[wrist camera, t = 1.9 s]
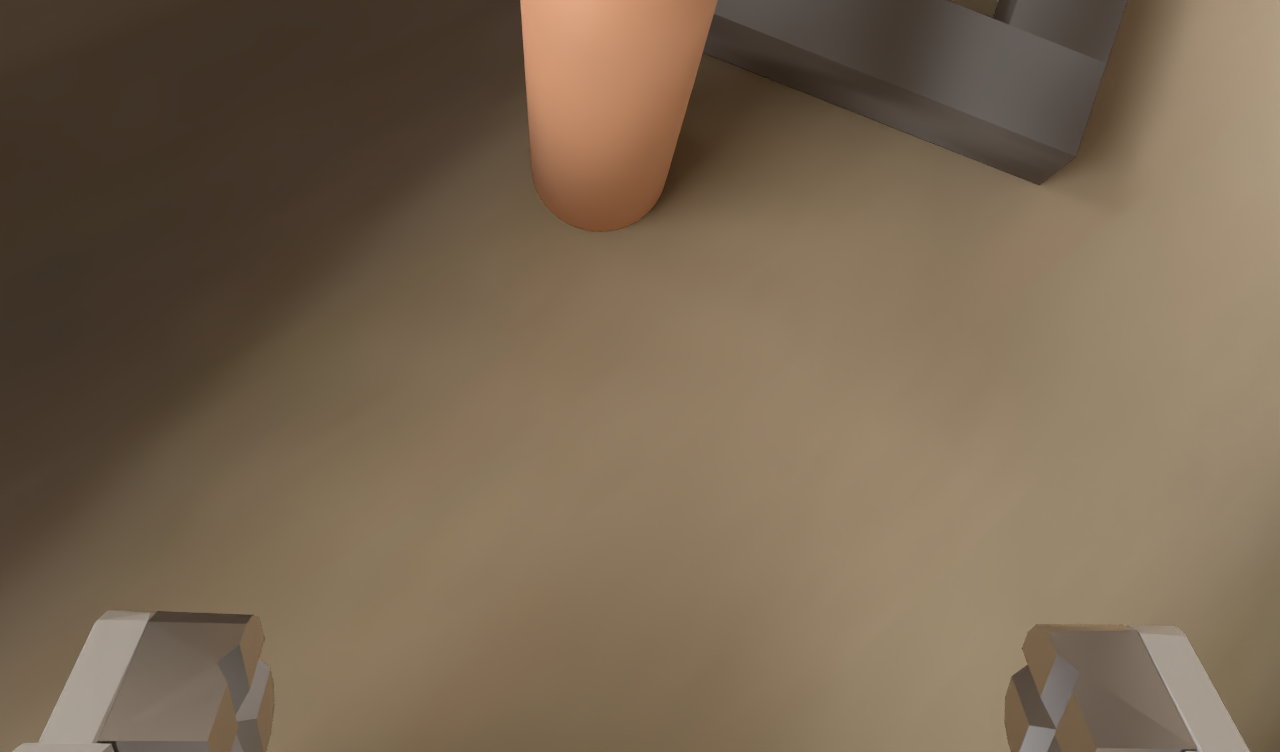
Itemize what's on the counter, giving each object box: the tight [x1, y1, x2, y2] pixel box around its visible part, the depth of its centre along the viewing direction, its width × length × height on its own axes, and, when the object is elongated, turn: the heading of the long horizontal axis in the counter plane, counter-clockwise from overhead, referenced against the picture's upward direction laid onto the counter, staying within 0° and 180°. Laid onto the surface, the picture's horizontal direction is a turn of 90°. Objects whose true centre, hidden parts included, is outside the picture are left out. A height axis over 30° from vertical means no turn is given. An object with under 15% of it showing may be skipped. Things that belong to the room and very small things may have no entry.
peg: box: [520, 0, 718, 232], centre depth 28 cm, size 4×4×12 cm
